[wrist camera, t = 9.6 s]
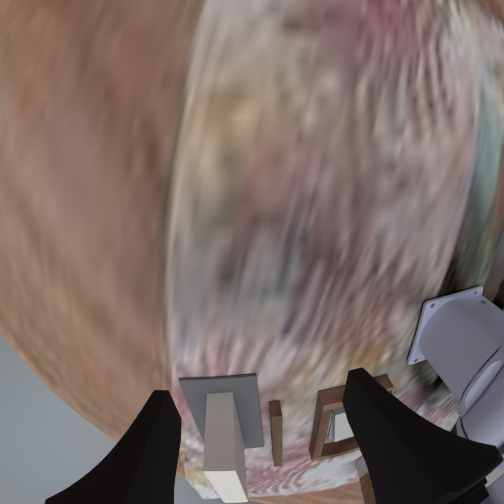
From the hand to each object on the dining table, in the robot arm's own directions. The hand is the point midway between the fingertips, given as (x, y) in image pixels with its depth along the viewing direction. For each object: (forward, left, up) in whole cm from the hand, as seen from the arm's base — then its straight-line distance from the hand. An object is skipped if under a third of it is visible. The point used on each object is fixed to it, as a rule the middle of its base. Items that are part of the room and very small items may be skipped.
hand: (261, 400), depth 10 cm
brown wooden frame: (-7, +20, -10) cm, 24 cm away
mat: (+4, +16, -10) cm, 19 cm away
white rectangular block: (+4, +16, -10) cm, 19 cm away
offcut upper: (-10, +20, -10) cm, 24 cm away
